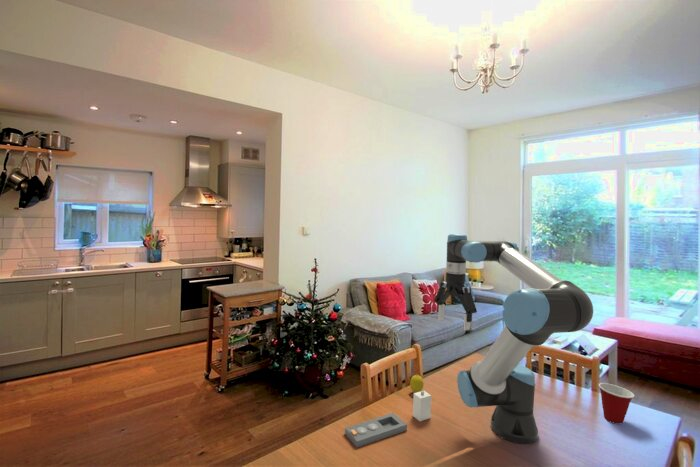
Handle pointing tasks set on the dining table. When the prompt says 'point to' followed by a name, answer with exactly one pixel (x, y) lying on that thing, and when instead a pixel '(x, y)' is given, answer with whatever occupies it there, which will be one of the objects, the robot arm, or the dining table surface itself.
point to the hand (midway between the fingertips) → (453, 324)
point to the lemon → (416, 383)
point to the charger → (422, 405)
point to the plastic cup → (615, 402)
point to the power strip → (375, 429)
